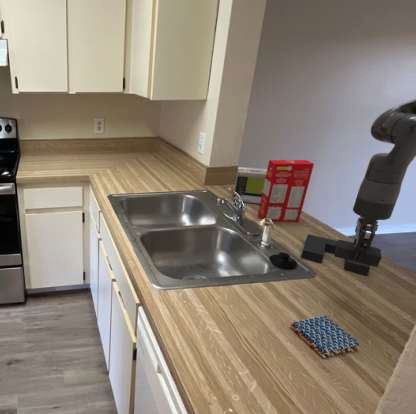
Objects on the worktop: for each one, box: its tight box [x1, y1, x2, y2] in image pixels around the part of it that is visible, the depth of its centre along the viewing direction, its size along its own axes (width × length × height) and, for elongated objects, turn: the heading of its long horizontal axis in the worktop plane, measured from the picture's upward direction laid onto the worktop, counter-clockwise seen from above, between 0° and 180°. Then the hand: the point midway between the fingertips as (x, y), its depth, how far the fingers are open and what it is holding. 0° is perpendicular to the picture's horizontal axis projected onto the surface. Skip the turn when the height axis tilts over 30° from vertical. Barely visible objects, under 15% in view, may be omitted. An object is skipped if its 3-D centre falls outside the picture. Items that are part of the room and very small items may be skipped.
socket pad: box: [300, 233, 371, 276], centre depth 112 cm, size 18×14×3 cm
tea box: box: [233, 166, 267, 205], centre depth 157 cm, size 15×10×15 cm, turn 69°
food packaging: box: [257, 159, 315, 223], centre depth 135 cm, size 15×5×25 cm, turn 88°
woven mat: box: [289, 315, 360, 359], centre depth 79 cm, size 10×11×2 cm
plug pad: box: [334, 239, 382, 268], centre depth 87 cm, size 5×9×3 cm, turn 54°
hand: (356, 256), depth 87 cm, fingers closed on plug pad, 5 cm apart
